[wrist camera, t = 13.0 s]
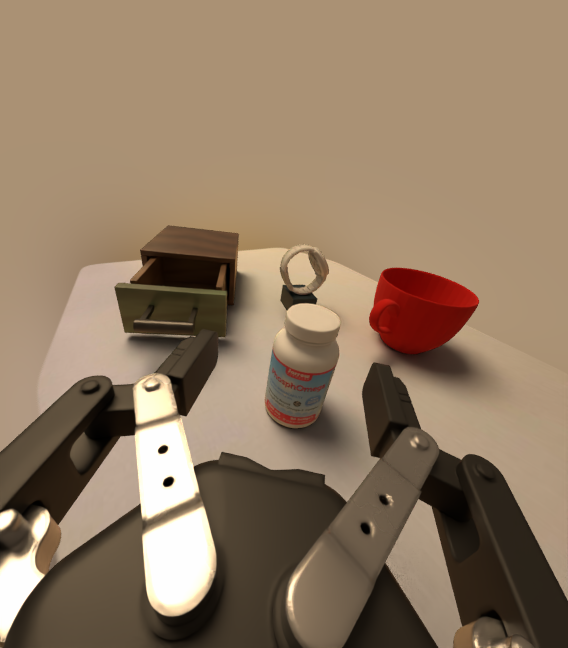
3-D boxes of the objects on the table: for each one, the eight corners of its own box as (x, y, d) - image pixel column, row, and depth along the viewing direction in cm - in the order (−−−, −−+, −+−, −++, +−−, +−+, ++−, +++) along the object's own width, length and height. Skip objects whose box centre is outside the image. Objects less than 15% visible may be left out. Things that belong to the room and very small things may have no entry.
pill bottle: (257, 422, 25) (270, 327, 19) (270, 379, 31) (284, 293, 25) (318, 437, 25) (351, 344, 19) (321, 391, 30) (347, 306, 24)
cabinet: (233, 305, 44) (235, 259, 40) (147, 299, 42) (139, 249, 38) (236, 270, 57) (238, 233, 53) (171, 265, 55) (167, 225, 50)
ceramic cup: (326, 333, 41) (343, 273, 35) (392, 314, 50) (413, 264, 44) (395, 390, 32) (431, 321, 27) (459, 354, 41) (496, 298, 36)
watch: (323, 314, 46) (339, 253, 40) (280, 316, 43) (290, 251, 37) (310, 299, 50) (323, 242, 44) (271, 300, 48) (279, 239, 42)
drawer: (222, 360, 31) (223, 315, 27) (107, 356, 29) (93, 307, 25) (231, 290, 47) (232, 256, 43) (158, 284, 45) (153, 248, 41)
